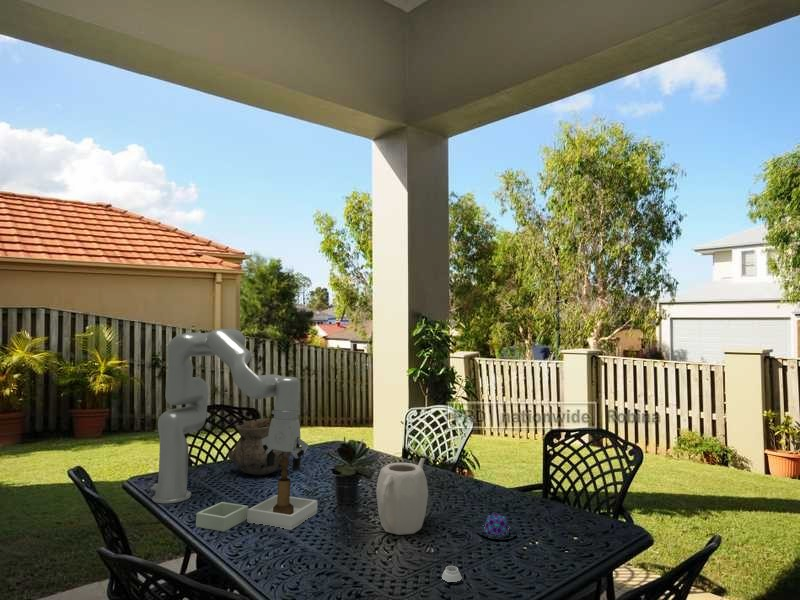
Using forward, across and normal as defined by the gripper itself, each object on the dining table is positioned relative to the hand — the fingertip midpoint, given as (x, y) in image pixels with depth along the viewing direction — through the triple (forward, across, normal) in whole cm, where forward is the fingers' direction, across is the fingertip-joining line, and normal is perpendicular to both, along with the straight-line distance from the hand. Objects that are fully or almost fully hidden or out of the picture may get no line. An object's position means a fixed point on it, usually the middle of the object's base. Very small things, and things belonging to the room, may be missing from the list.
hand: (282, 467), depth 164 cm
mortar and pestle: (+15, +1, 0) cm, 15 cm away
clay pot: (+17, -37, +41) cm, 58 cm away
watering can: (+15, +40, +7) cm, 43 cm away
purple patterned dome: (+14, +68, +13) cm, 71 cm away
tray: (+16, +1, 0) cm, 16 cm away
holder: (+16, -14, -11) cm, 24 cm away
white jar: (+14, +62, -20) cm, 67 cm away
